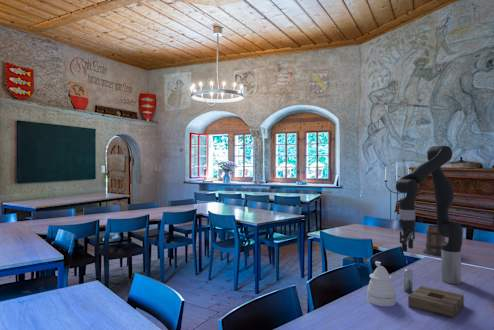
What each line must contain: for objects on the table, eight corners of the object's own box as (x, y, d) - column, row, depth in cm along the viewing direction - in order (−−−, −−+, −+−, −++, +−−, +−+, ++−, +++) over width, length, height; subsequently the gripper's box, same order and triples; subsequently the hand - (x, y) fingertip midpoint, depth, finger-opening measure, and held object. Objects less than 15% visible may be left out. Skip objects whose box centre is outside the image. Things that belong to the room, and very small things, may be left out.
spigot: (405, 289, 178) (405, 268, 178) (413, 291, 176) (413, 269, 176) (402, 291, 175) (402, 270, 176) (411, 293, 173) (410, 271, 173)
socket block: (421, 295, 169) (421, 285, 169) (463, 305, 157) (463, 294, 157) (408, 306, 156) (408, 295, 156) (453, 318, 144) (453, 306, 144)
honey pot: (361, 298, 167) (360, 261, 167) (381, 294, 172) (381, 258, 173) (381, 308, 156) (380, 268, 156) (402, 303, 161) (401, 264, 161)
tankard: (442, 257, 237) (441, 228, 237) (418, 253, 251) (417, 225, 251) (457, 252, 251) (457, 225, 251) (434, 248, 265) (433, 222, 265)
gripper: (404, 216, 183) (405, 246, 183) (394, 219, 173) (394, 251, 173) (419, 217, 178) (420, 248, 178) (409, 220, 168) (410, 253, 168)
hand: (407, 249), depth 176 cm, fingers open, 8 cm apart
